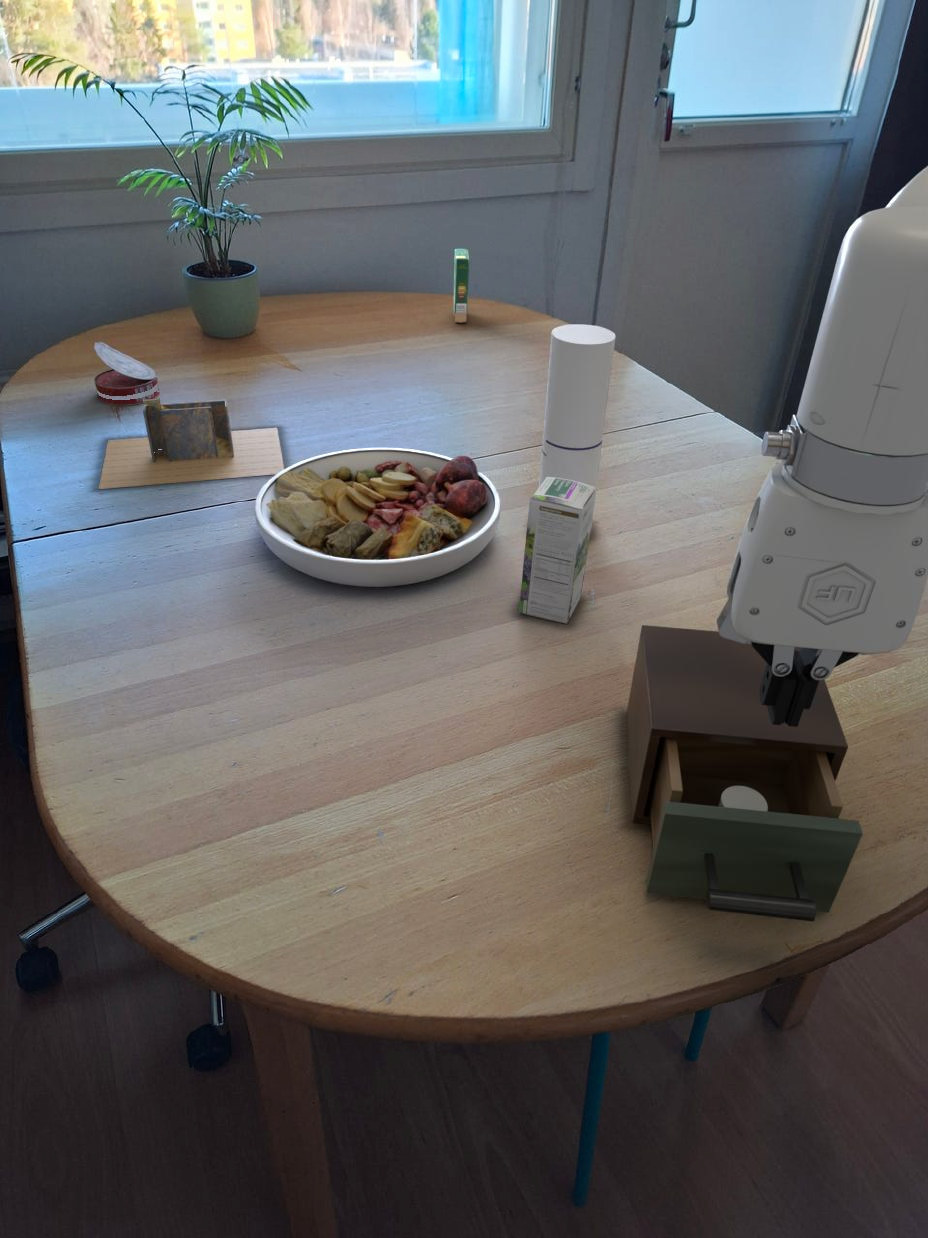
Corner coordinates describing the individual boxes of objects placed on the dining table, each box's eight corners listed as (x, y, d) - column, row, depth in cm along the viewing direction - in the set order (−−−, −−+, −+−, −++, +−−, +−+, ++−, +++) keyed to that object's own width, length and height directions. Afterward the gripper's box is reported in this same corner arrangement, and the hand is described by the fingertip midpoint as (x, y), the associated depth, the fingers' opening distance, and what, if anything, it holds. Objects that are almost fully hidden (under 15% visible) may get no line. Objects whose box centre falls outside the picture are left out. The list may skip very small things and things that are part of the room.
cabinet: (812, 841, 71) (848, 746, 65) (632, 822, 72) (651, 728, 66) (781, 728, 82) (810, 638, 76) (626, 714, 83) (641, 624, 77)
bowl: (325, 630, 93) (319, 568, 89) (222, 513, 113) (214, 458, 109) (546, 554, 107) (552, 497, 103) (420, 462, 127) (420, 411, 123)
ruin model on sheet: (98, 489, 118) (81, 421, 113) (108, 440, 131) (93, 376, 125) (285, 473, 123) (278, 407, 118) (277, 427, 136) (270, 366, 131)
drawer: (843, 967, 61) (881, 887, 56) (650, 946, 62) (670, 865, 57) (796, 789, 75) (822, 712, 70) (638, 774, 76) (653, 697, 71)
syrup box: (533, 587, 101) (543, 473, 93) (583, 599, 99) (597, 484, 91) (518, 613, 97) (526, 496, 88) (569, 626, 95) (583, 508, 87)
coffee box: (467, 323, 182) (469, 257, 174) (454, 323, 182) (455, 257, 174) (466, 312, 188) (468, 248, 181) (453, 312, 188) (454, 247, 181)
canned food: (126, 410, 152) (131, 351, 151) (170, 415, 148) (176, 354, 147) (72, 399, 142) (77, 336, 141) (118, 404, 138) (123, 339, 136)
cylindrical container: (560, 548, 108) (581, 348, 94) (524, 524, 113) (538, 330, 99) (602, 532, 112) (628, 337, 97) (565, 509, 117) (585, 320, 102)
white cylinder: (749, 832, 69) (763, 787, 66) (756, 866, 67) (771, 821, 64) (706, 827, 70) (718, 783, 67) (711, 861, 67) (724, 817, 64)
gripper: (728, 479, 45) (670, 739, 56) (1030, 502, 44) (912, 763, 55) (712, 422, 51) (663, 666, 62) (977, 441, 50) (880, 687, 61)
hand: (780, 711), depth 58 cm, fingers closed
